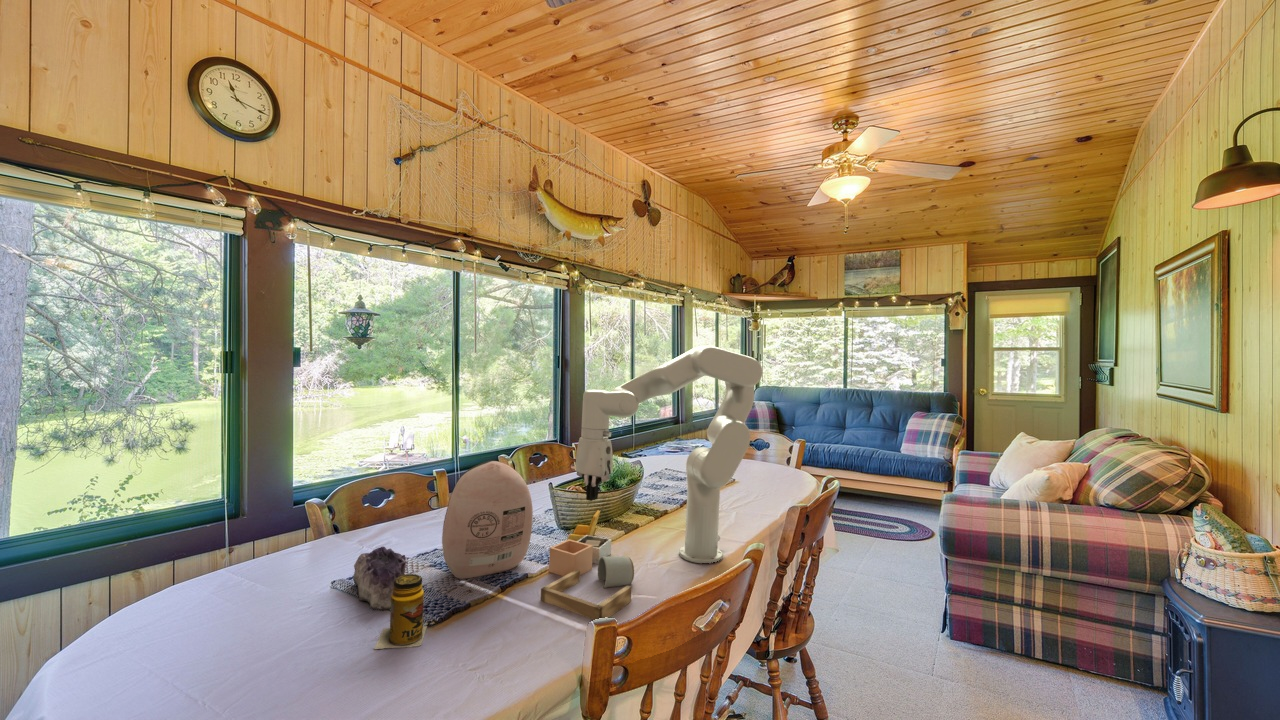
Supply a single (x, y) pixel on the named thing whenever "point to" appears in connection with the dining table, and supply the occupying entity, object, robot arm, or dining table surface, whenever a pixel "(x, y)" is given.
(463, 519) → the packaged food
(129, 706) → the dining table surface
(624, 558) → the ceramic mug
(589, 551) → the terracotta planter
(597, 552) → the grey tin
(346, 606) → the dining table surface
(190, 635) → the dining table surface
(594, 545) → the walnut cube
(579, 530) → the yellow toy chair
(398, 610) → the condiment
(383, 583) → the geode
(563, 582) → the frame
